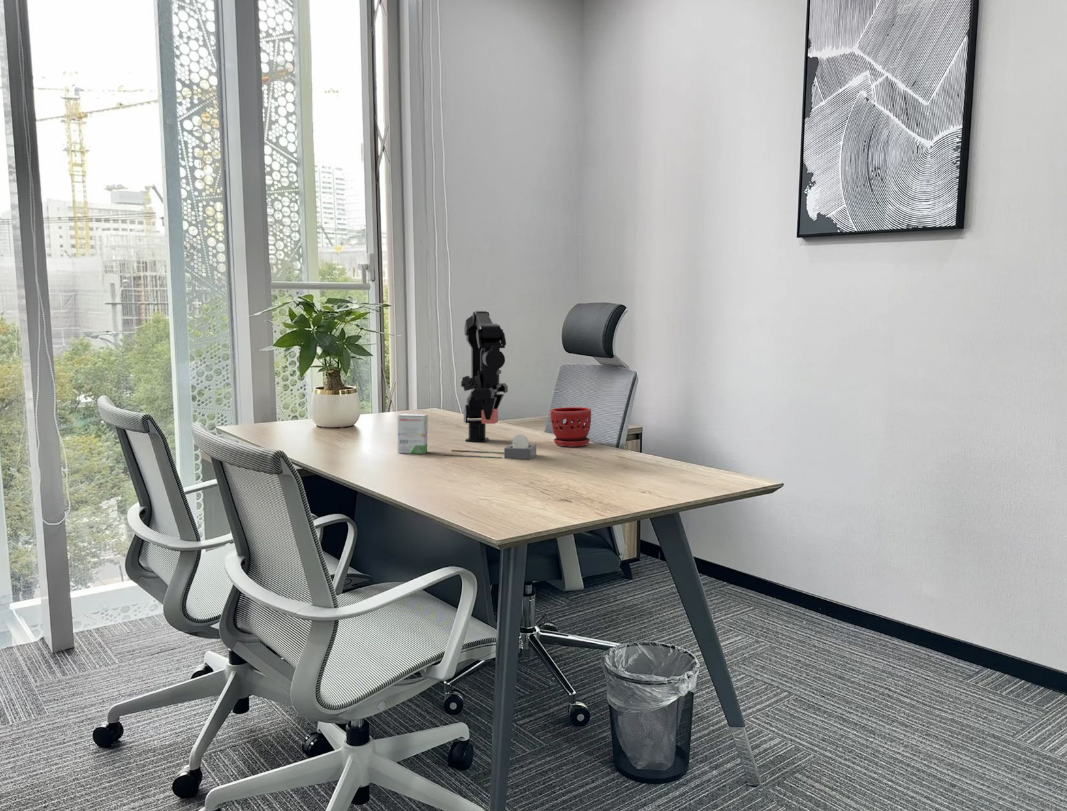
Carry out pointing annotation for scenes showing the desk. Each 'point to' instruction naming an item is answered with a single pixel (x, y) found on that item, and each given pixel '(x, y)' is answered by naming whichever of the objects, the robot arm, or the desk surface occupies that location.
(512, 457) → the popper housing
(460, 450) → the track
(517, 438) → the dome
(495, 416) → the die
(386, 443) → the desk surface
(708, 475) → the desk surface
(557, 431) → the plant pot
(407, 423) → the ink box
